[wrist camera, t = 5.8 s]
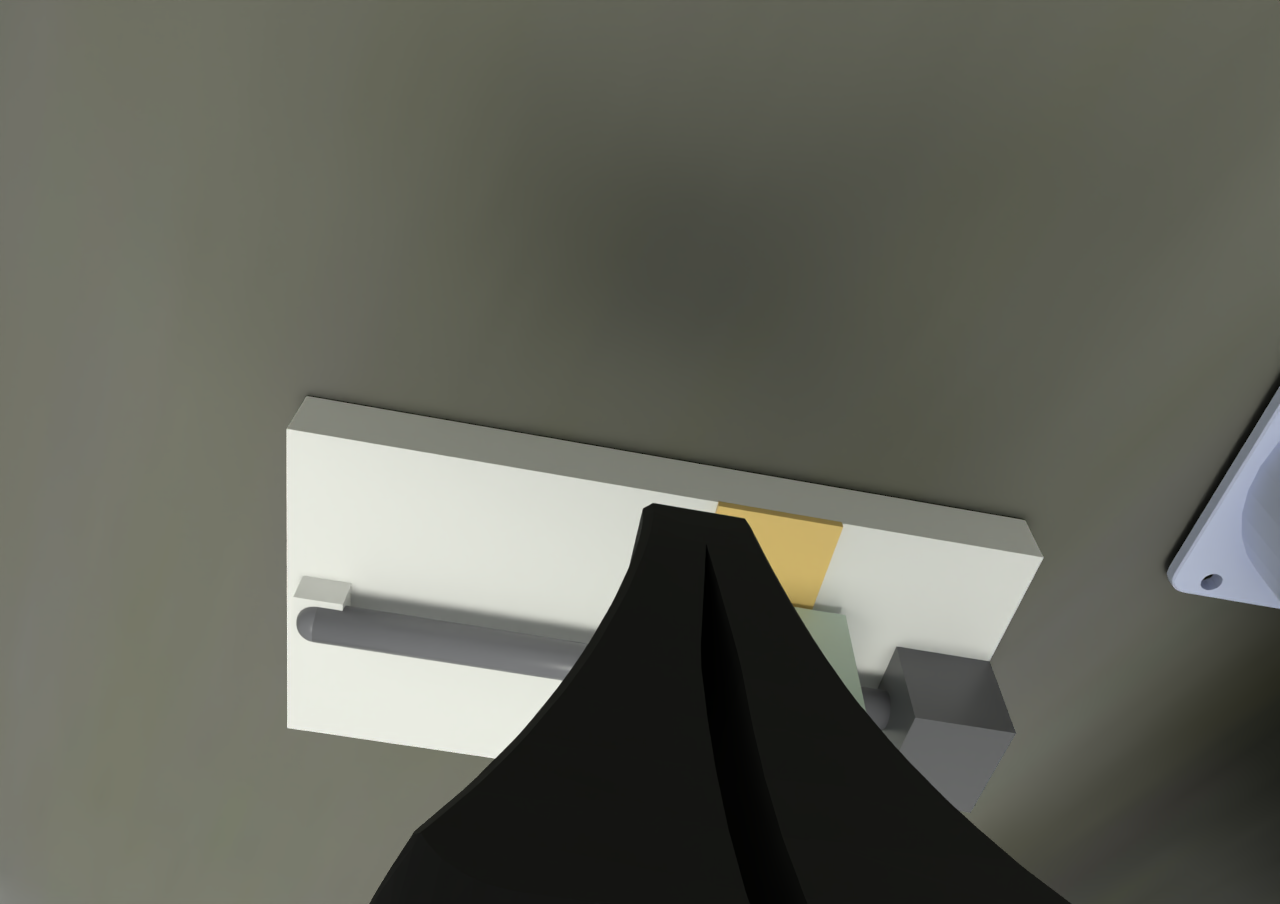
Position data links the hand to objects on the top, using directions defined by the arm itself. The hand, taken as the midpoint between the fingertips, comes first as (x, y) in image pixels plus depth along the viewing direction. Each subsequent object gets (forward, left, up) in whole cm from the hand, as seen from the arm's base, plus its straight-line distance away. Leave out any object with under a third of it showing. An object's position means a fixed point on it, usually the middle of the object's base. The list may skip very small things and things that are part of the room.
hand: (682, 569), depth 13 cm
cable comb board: (-1, +10, -10) cm, 14 cm away
